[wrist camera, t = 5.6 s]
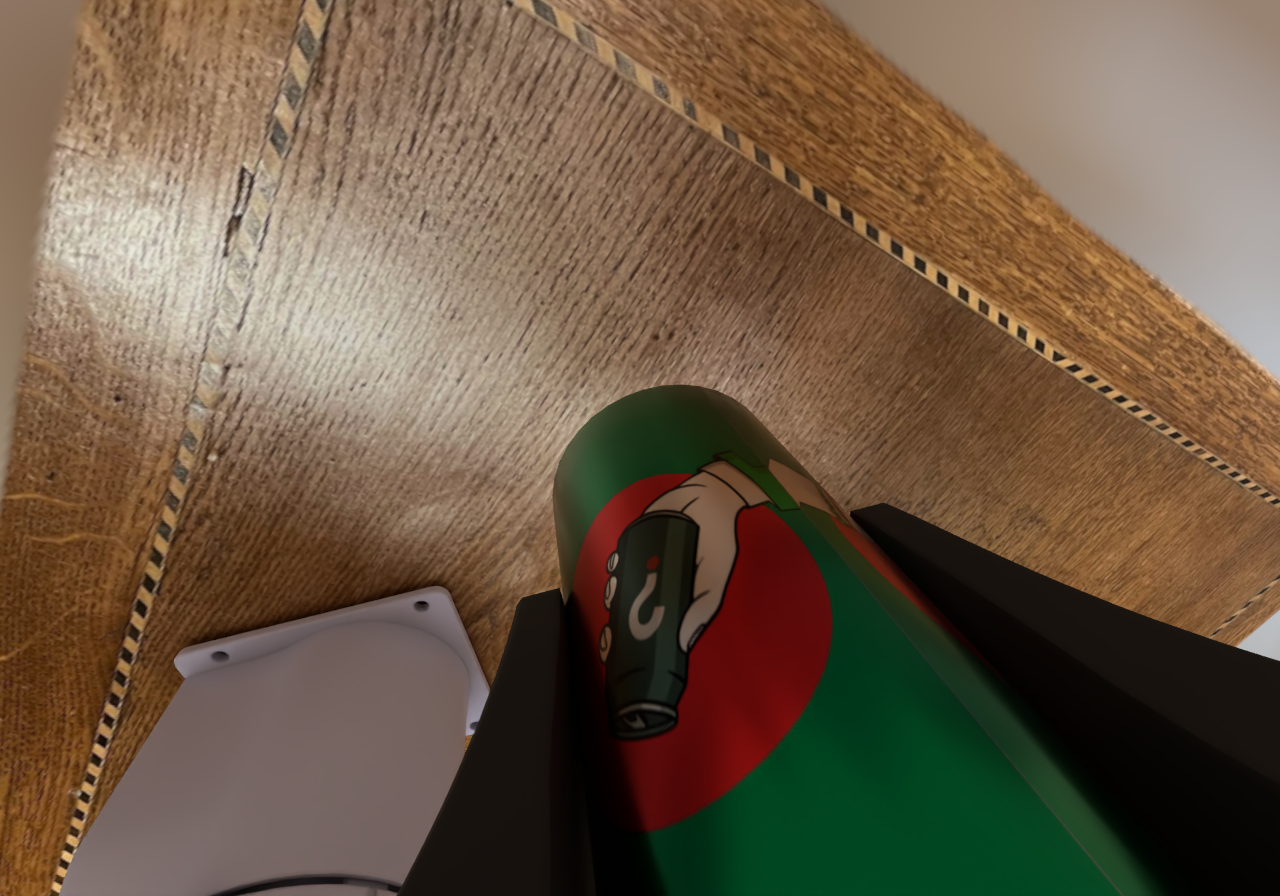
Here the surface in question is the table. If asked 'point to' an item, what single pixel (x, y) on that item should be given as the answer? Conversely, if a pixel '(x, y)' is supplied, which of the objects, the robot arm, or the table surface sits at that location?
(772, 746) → the soda can
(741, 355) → the table surface
